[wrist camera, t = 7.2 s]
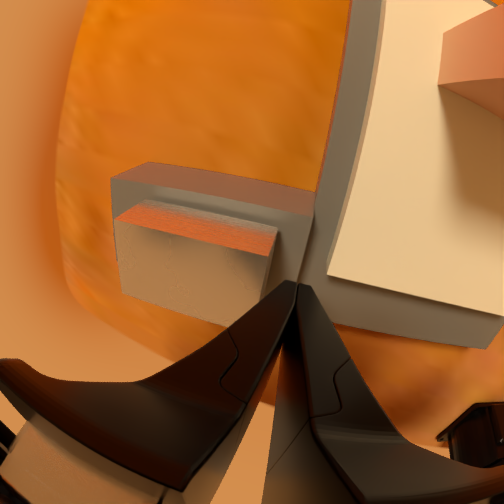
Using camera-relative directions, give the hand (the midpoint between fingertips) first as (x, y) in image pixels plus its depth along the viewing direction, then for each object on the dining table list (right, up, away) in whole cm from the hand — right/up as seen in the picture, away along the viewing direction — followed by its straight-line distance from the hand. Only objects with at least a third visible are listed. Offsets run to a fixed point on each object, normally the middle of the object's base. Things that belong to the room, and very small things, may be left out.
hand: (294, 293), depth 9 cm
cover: (+7, +5, -1) cm, 9 cm away
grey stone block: (-3, +1, +2) cm, 4 cm away
